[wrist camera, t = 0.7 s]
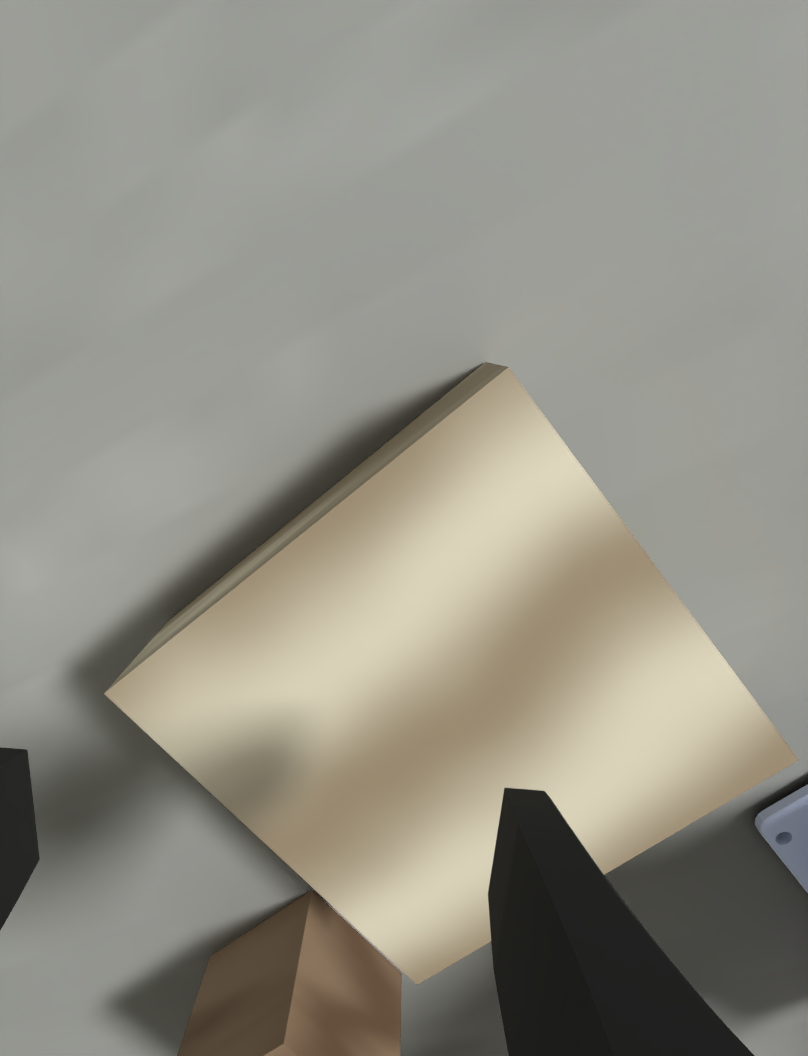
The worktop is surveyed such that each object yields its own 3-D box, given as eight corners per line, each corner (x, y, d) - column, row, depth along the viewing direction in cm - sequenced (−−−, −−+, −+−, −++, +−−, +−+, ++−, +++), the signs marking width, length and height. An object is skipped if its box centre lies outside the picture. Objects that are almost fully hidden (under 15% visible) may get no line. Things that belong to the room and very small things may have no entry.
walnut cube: (401, 971, 23) (398, 1139, 18) (301, 1030, 23) (273, 1206, 19) (312, 887, 21) (283, 1044, 17) (210, 954, 22) (156, 1119, 18)
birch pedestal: (719, 674, 19) (798, 759, 15) (415, 868, 21) (417, 985, 17) (485, 362, 16) (508, 366, 12) (167, 621, 18) (103, 693, 15)
